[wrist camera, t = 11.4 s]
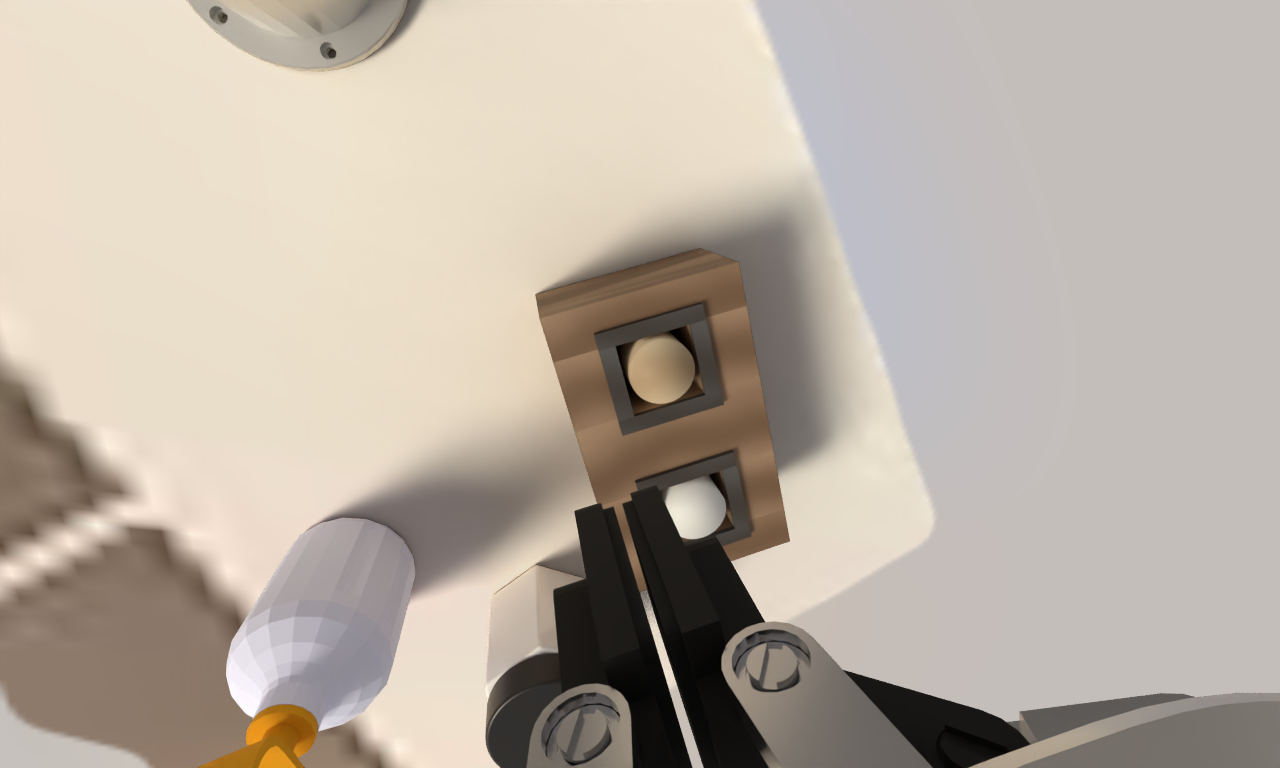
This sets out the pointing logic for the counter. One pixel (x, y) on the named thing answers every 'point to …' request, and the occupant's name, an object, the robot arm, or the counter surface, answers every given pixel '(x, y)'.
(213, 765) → the soap bottle
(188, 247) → the counter surface
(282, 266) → the counter surface
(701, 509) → the white peg
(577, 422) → the walnut block
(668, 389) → the oak peg
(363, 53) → the robot arm
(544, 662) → the jar
